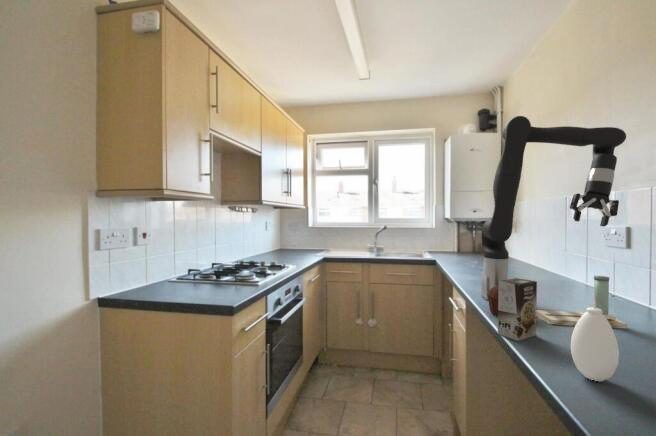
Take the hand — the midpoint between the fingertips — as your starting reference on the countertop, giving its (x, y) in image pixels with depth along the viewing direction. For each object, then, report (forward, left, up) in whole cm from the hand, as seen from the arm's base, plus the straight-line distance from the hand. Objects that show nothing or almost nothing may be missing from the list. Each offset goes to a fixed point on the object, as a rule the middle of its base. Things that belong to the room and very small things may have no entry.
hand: (589, 223), depth 116 cm
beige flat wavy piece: (-14, -17, -32) cm, 39 cm away
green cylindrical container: (-7, -17, -30) cm, 35 cm away
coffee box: (-39, -33, -32) cm, 60 cm away
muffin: (-35, -14, -32) cm, 49 cm away
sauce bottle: (-33, -57, -32) cm, 73 cm away
